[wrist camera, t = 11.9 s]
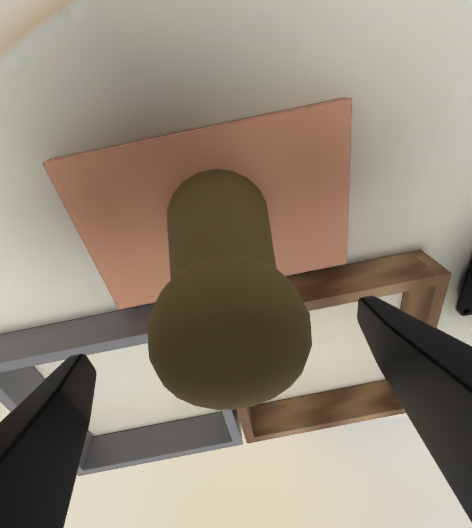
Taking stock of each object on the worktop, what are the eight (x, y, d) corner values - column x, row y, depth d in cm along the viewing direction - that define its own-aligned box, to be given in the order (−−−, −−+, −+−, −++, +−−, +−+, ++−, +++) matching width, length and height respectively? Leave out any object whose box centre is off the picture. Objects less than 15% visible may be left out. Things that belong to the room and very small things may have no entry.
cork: (177, 155, 15) (134, 267, 6) (283, 185, 17) (385, 314, 7) (159, 253, 18) (111, 432, 9) (250, 271, 19) (293, 443, 10)
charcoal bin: (203, 293, 21) (203, 322, 19) (239, 413, 29) (242, 444, 27) (-6, 335, 21) (-34, 369, 19) (89, 442, 30) (78, 476, 27)
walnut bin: (421, 249, 21) (451, 273, 18) (395, 382, 29) (414, 411, 27) (208, 292, 21) (209, 321, 19) (243, 412, 29) (247, 443, 27)
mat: (345, 97, 15) (352, 98, 15) (341, 257, 21) (346, 263, 20) (49, 159, 15) (42, 163, 15) (121, 302, 21) (118, 309, 20)
